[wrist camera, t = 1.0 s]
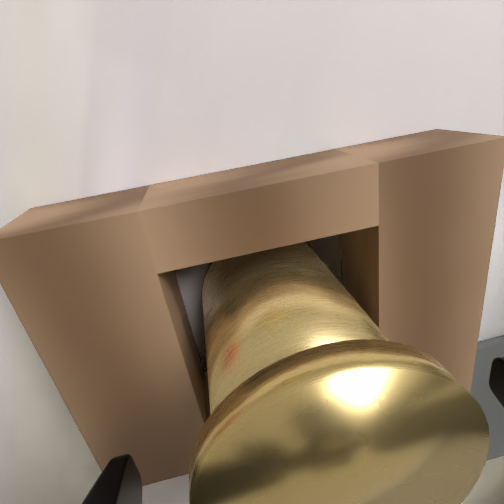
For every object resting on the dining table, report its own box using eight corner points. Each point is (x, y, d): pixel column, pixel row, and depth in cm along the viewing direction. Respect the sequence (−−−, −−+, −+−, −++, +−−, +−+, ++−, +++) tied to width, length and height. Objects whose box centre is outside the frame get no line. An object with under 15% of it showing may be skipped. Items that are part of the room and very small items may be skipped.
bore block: (436, 129, 12) (508, 136, 10) (423, 348, 16) (469, 397, 14) (30, 208, 11) (-22, 243, 8) (127, 423, 15) (113, 493, 12)
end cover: (332, 204, 13) (511, 332, 6) (340, 334, 15) (472, 534, 8) (171, 239, 12) (148, 426, 5) (207, 366, 15) (224, 610, 8)
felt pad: (579, 316, 17) (587, 320, 17) (544, 436, 21) (550, 441, 21) (412, 359, 17) (417, 364, 16) (406, 475, 20) (411, 482, 20)
